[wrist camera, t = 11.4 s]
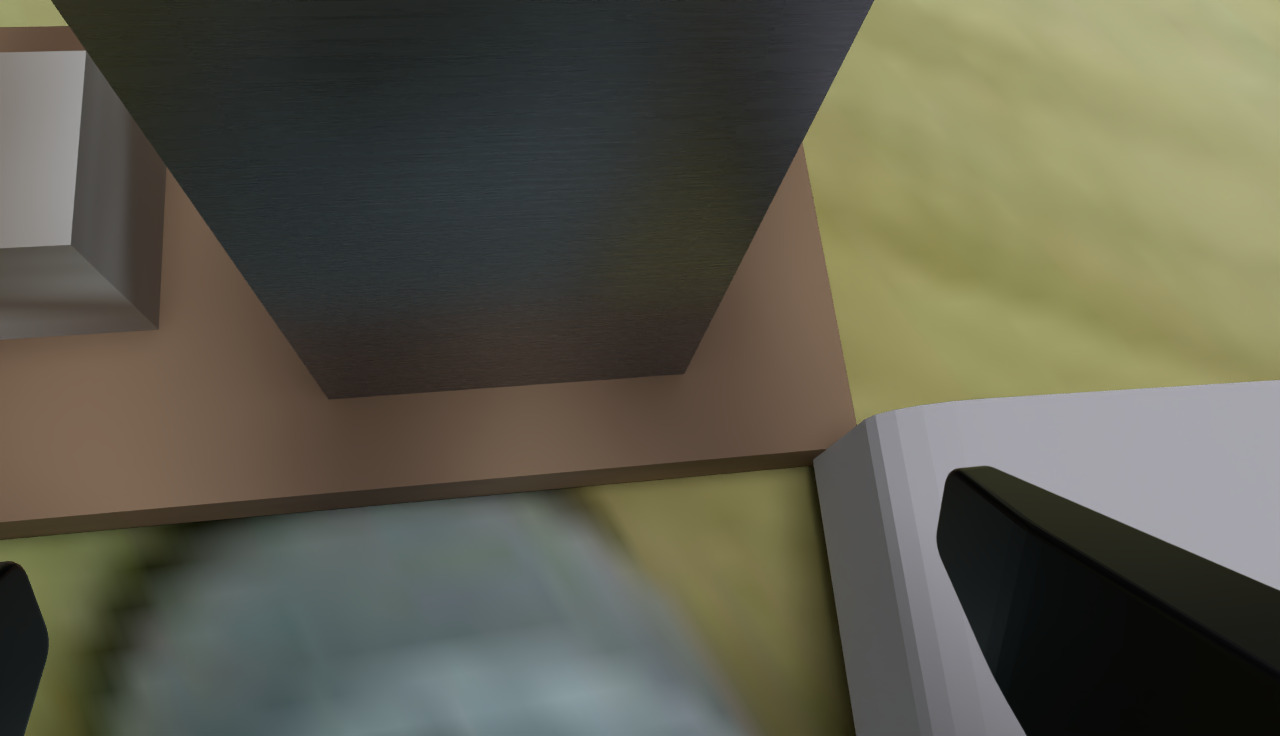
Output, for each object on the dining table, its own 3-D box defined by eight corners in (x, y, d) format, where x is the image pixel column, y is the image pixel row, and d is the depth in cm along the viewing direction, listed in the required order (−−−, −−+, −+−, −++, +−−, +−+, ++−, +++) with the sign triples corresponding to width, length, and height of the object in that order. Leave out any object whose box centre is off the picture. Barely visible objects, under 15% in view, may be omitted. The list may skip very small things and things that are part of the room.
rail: (761, 55, 22) (824, -113, 18) (836, 462, 19) (936, 392, 15) (-11, 74, 20) (-177, -114, 15) (-66, 546, 17) (-296, 491, 12)
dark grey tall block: (684, 373, 18) (952, -154, 7) (328, 399, 17) (-66, -166, 6) (645, 81, 20) (800, -705, 9) (325, 89, 19) (33, -780, 8)
